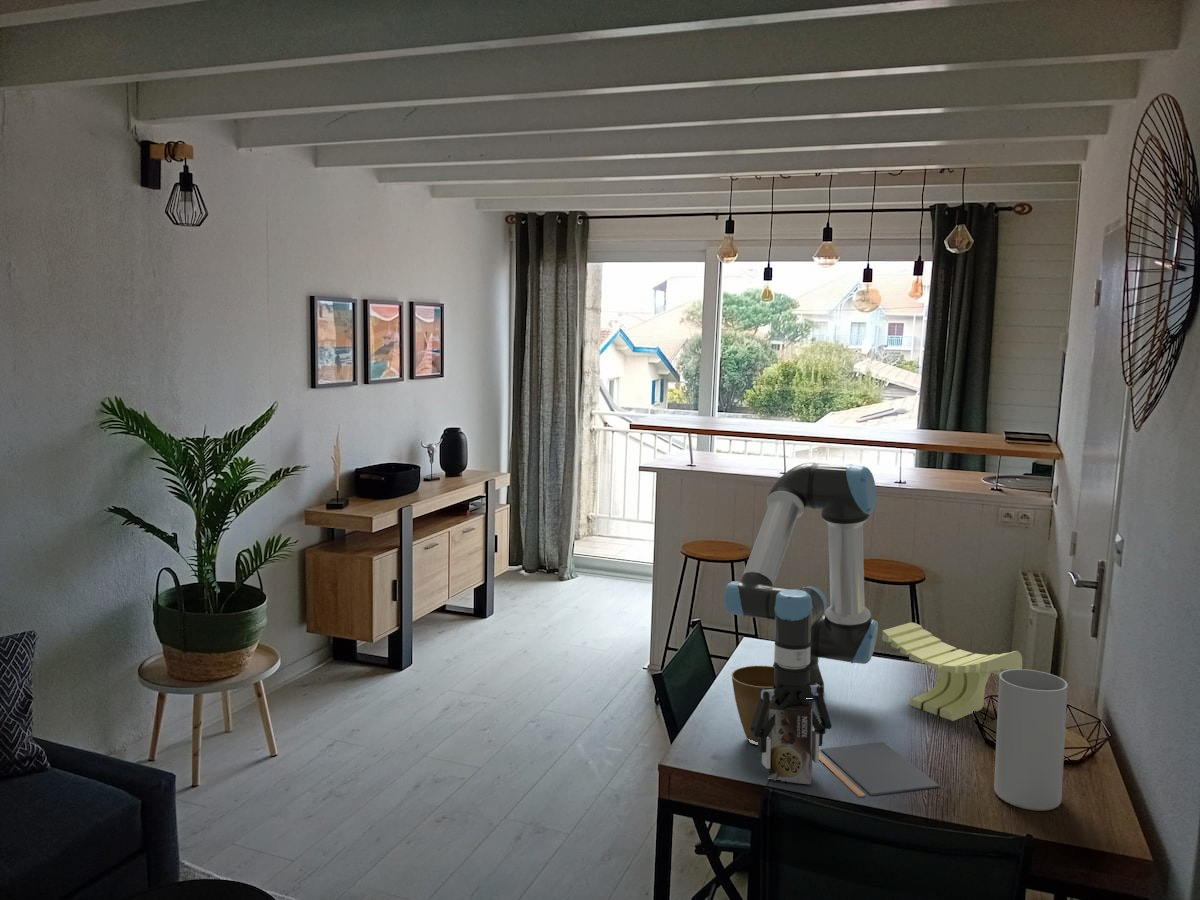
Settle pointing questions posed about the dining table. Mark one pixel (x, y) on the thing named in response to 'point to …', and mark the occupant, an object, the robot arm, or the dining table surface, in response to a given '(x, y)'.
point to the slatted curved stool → (949, 671)
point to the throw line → (841, 777)
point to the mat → (879, 768)
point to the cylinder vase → (1030, 739)
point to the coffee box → (791, 743)
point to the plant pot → (751, 692)
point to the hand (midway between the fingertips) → (790, 763)
